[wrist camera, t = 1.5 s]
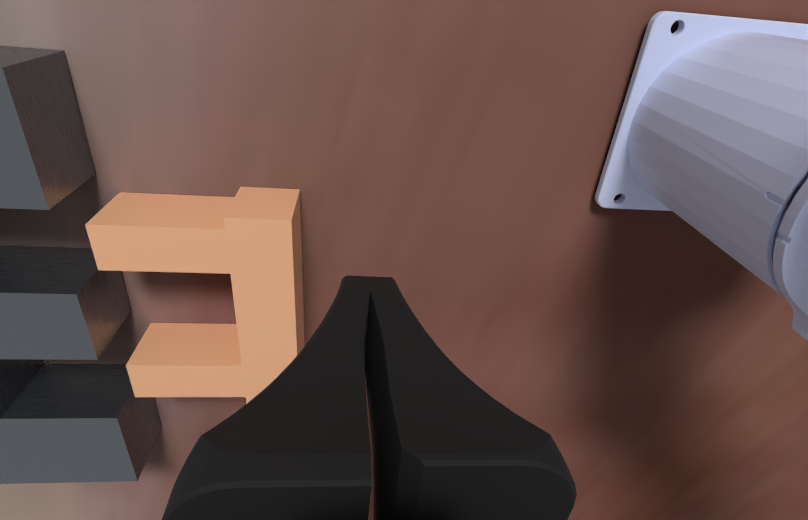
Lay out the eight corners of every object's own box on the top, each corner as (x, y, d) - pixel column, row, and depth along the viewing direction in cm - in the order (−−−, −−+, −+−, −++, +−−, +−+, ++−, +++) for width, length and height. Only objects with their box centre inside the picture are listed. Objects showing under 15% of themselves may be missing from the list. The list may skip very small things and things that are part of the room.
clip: (299, 189, 21) (291, 220, 18) (305, 361, 26) (299, 404, 23) (117, 181, 20) (81, 212, 17) (159, 360, 25) (137, 404, 23)
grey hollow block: (63, 50, 17) (2, 67, 14) (161, 425, 28) (137, 480, 25) (-138, 36, 17) (-246, 51, 14) (39, 426, 27) (-1, 483, 24)
